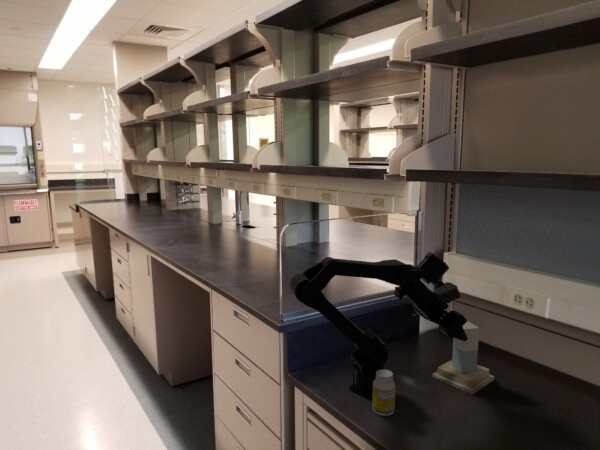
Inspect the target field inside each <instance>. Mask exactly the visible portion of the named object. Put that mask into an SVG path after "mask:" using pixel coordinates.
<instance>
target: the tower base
mask: <svg viewBox="0 0 600 450" xmlns="http://www.w3.org/2000/svg"><path fill="white" fill-rule="evenodd" d="M432 377H434V378H436V379H435V380H437V379H439V380H440V381H439V380H438V381H439V382H441V381H443V382H442V383H444V382H445V383H444V384H446V383H447V384H446V385H448V384H449V386H451V385H452V386H451V387H453V386H454V387H453V388H455V387H456V389H458V388H459V389H458V390H460V389H461V390H460V391H463V392H465V391H466V392H465V393H467V392H468V393H467V394H470V395H472V396H473V394H474V395H475V394H476V393H478V392H479V391H480V390H481V389H482V390H483V388H484V387H486V386H487V385H489V384H491V383H492V382H493V381H494V380H495V376H494V375H492V374H490V368H487V367H485V366H481V365H479V364H477V370H476V372H468V373H460V372H459V371H458V370H457V369H456V368H454V367H453V366H452V359H449V360H448V361H447V362H444V363H443V364H441V365H440V366H438V367H437V369H436V371H435V372H433V373H432V374H431V378H432ZM434 378H433V379H434Z"/></svg>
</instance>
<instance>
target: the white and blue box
mask: <svg viewBox="0 0 600 450" xmlns="http://www.w3.org/2000/svg"><path fill="white" fill-rule="evenodd" d="M463 329H464V331H465V333H466V335H467V337H468V340H467V341H462V340H459V339H456V338H453V337H452V338H453V339H452V340H453V341H452V342H453V343H452V356H451V360H452V366H453V367H454V368H456V369H457V370H458V371H459V372H460V373H468V372H476V370H477V365H478V353H479V338H480V337H479V335H480V327H478V326H477V325H475V324H473V323H472V322H470V321H467V322H466V323H465V324H464V325H463Z"/></svg>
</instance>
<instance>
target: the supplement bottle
mask: <svg viewBox="0 0 600 450" xmlns="http://www.w3.org/2000/svg"><path fill="white" fill-rule="evenodd" d="M393 379H394V373H393V372H392V371H391V370H388V369H380V370H377V371H376V379H375V380H374V381H373V395H372V399H371V400H372V401H371V402H372V403H371V404H372V406H371V407H372V411H373V412H374V413H375V414H377V415H378V416H383V417H388V416H391V415H393V414H394V412H395V407H396V405H395V404H396V383H395V381H394V380H393Z"/></svg>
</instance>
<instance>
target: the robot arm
mask: <svg viewBox="0 0 600 450" xmlns="http://www.w3.org/2000/svg"><path fill="white" fill-rule="evenodd" d="M449 270H450V267H449V265H448V264H447V263H446V262H445V261H443V260H442V259H440V257H438V256H436V255H435V254H434V253H433V252H431V251H428V252H427V253H426V254H425V256H424V257H423V259H422V260H421V261H419V263H418V264H417V265H416V266H415V265H412V264H410V263H405V262H403V261H400V260H398V259H382V260H380V261H365V260H364V261H363V260H362V261H361V260H354V259H344V258H342V259H341V258H336V257H335V258H334V257H332V256H331V257H330V256H326V257H324V258H323V259H321V260H320V261H318V263H316V264H314V265H312V266H311V267H308V268H307V269H305V270H304V271H303V272H302V273H299V274H296V275H294V276H293V277H292V278H291V279H290V283H289V288H290V291H291V292H292V294H293V295H294V296H295V298H296V299H297V301H299V303H301V304H304V305H305V306H307V307H308V308H310V309H312V310H314V311H317V312H318V313H319V314H321V315H322V316H323V317H324V318H325V319H326V320H327V321H328V322H330V323H331V325H333V326H334V327H336V328H337V330H339V331H340V332H341V333H342V334H343V335H344V336H345V337H346V338H347V339H348V340H349V341H351V342H352V343H353V344H354V346H355V347H356V348H355V349H354V350H353V352H351V353H350V359H351V361H352V362H353V363H354V364H353V367H352V384H351V385H349V386H348V389H349V391H352V392H354V393H356V394H358V395H360V396H362V397H364V398H365V399H369V398H371V397H373V381H374V380H375V379H376V371H377V370H380V369H383V368H384V366H385V364H386V362H387V361H388V359H389V350H388V349H387V348H386V347H387V345H388V344H386V343H385V342H384V341H383V340H382V339H381V338H380V337H379V336H378V335H376V334H375V333H374V332H373V331H372V330H371V329H370V328H369V327H367V328H366V330H365V331H364V330H362V329H360V328H359V327H358V326H357V325H356V324H355V323H354V322H352V321H351V320H350V319H349V318H348V317H347V316H346V315H345V314H344V313H343V312H342V311H340V309H338V307H336V306H335V305H334V304H333V303H332V302H331V301H330V300H328V299H327V297H326V296H325V294H324V293H323V290H324V289H325V288H326V286H328V285H329V283H330V282H331V280H332V279H333V278H334V277H335V276H341V277H349V278H350V277H351V278H352V277H353V278H360V279H361V278H363V279H372V280H373V279H375V280H379V281H382V282H385V283H388V284H392V285H395V287H394V292H393V293H394V296H395V297H396V298H397V299H399V300H403V298H404V297H406V298H407V300H409V301H410V303H412V306H413V311H414V312H415V313H417V314H418V315H419V316H420V317H421V318H423V319H424V320H425V321H426V320H427V321H429V322H431V323H433V324H436V325H438V329H439V330H440V331H441V332H442V333H443V334H444V335H446V336H447V337H448V338H456V339H459V340H462V341H467V340H468V337H467V335H466V333H465V331H464V329H463V325H464V324H465V323H466V322H468V320H467V318H466V317H465V316H464V315H463V314H461V313H460V312H458V311H457V310H450V311H449V312H448V311H447V309H448V308H449V307H450V305H449V304H450V303H452V302H453V301H455V300H459V299H460V298H461V293H460V290H459V288H458V286H457V285H456V284H454V283H452V282H448V281H445V282H443V281H442V280H440V279H441V278H442V277H443V276H444V275H445V274H446V273H447V272H448V271H449ZM426 284H427V285H430V284H432V285H434V286H433V290H431V289H429V287H428V286H427V285H426Z"/></svg>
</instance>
